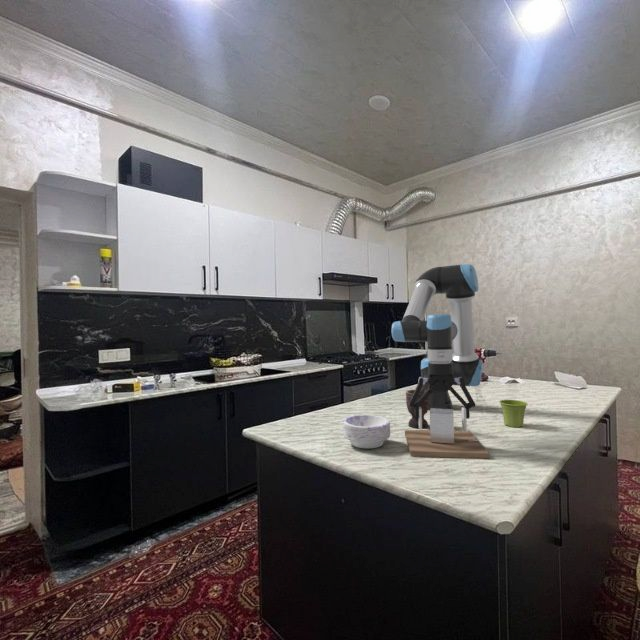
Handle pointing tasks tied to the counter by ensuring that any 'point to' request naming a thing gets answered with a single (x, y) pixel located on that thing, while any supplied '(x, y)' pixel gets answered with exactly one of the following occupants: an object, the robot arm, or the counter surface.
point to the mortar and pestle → (415, 421)
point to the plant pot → (513, 412)
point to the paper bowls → (366, 430)
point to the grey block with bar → (441, 425)
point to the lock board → (445, 445)
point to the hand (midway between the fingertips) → (442, 428)
